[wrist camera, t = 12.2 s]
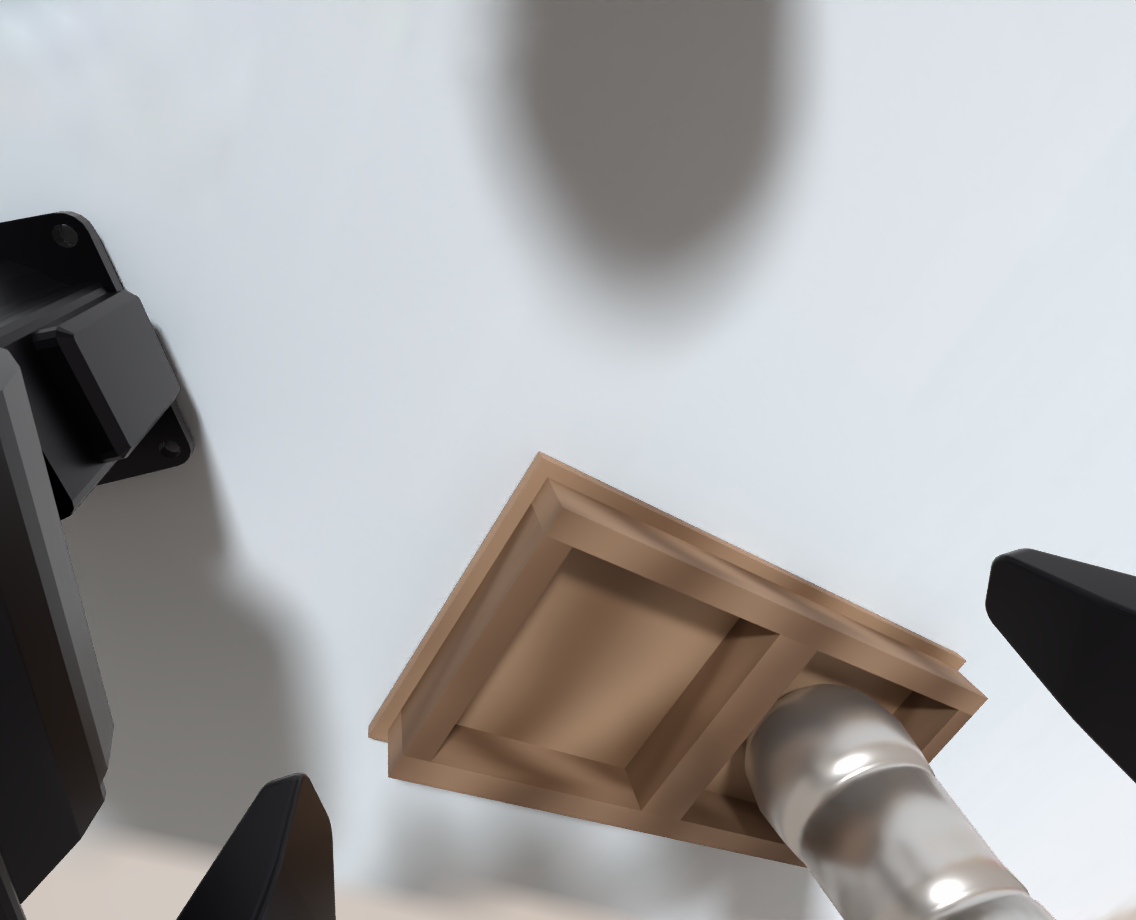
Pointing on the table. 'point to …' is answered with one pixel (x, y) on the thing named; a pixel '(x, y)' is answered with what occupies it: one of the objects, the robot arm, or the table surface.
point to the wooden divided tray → (637, 668)
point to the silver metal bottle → (873, 814)
